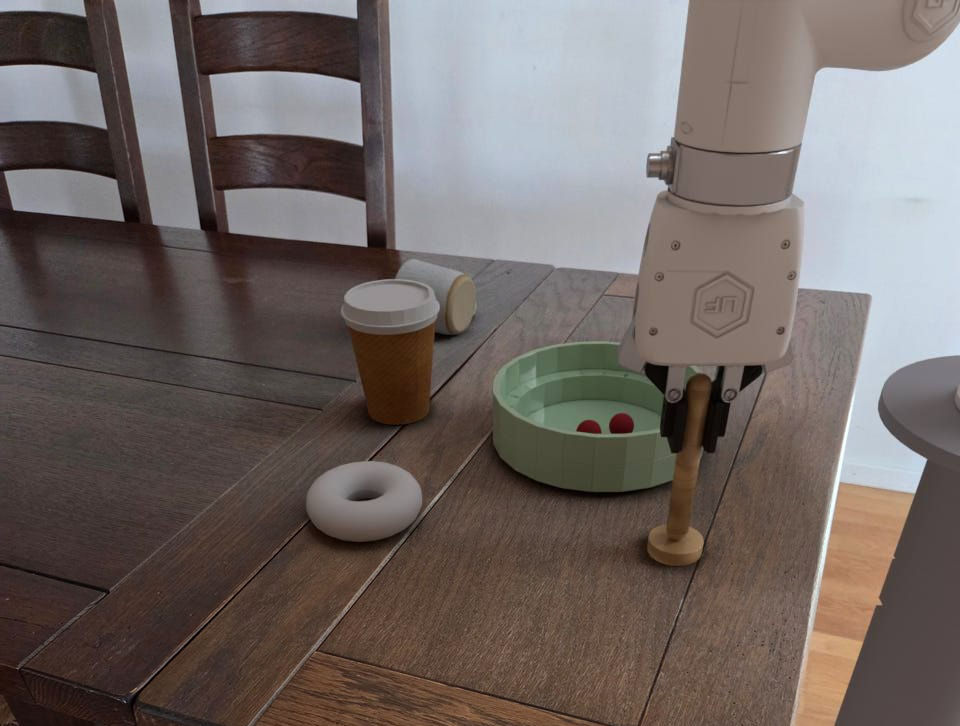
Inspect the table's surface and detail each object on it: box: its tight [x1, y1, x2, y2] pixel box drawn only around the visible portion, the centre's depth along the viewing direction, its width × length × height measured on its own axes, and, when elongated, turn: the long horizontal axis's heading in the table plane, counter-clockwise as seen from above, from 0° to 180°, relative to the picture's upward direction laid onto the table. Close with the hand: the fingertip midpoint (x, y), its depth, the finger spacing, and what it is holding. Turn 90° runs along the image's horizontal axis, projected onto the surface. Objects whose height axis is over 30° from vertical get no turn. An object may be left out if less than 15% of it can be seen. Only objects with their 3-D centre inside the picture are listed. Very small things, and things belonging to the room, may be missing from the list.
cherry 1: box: [576, 420, 602, 434], centre depth 84 cm, size 2×2×2 cm
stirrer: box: [646, 371, 713, 567], centre depth 68 cm, size 4×4×15 cm
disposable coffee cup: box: [340, 278, 440, 426], centre depth 88 cm, size 10×10×12 cm
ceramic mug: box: [394, 258, 478, 336], centre depth 107 cm, size 11×8×8 cm
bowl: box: [492, 340, 704, 493], centre depth 84 cm, size 20×20×6 cm
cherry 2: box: [609, 413, 634, 434], centre depth 85 cm, size 2×2×2 cm
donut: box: [305, 460, 424, 543], centre depth 76 cm, size 10×4×10 cm
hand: (690, 442), depth 66 cm, fingers closed on stirrer, 2 cm apart
